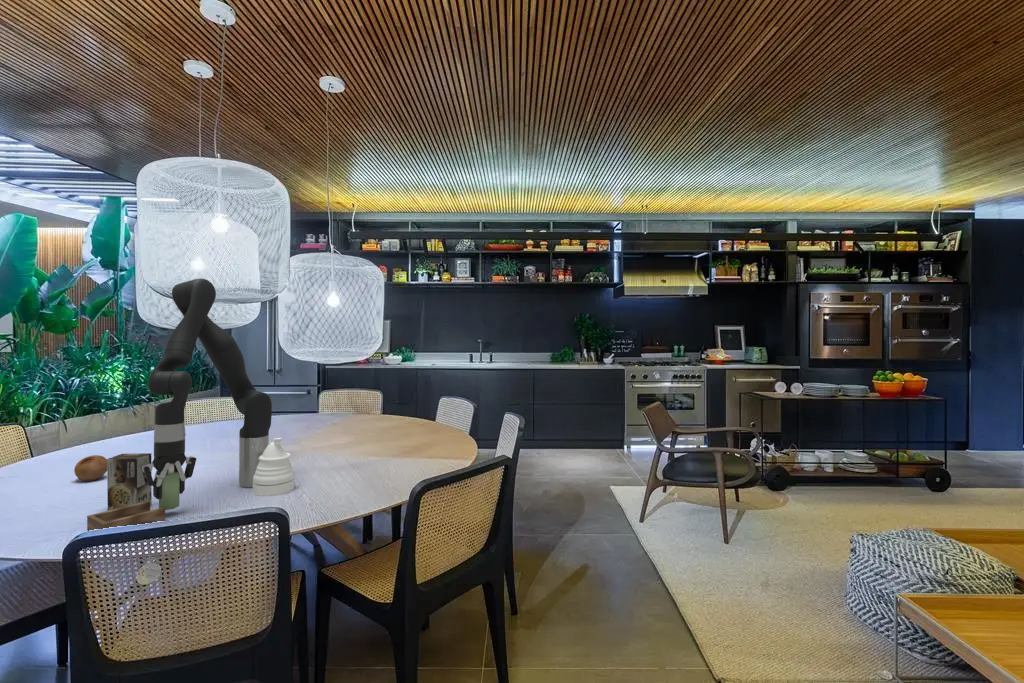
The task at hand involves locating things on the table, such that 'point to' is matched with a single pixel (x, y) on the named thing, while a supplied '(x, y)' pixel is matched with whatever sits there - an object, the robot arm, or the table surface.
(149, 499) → the coffee box
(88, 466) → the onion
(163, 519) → the u rest
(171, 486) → the bottle
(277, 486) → the honey pot
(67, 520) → the table surface
